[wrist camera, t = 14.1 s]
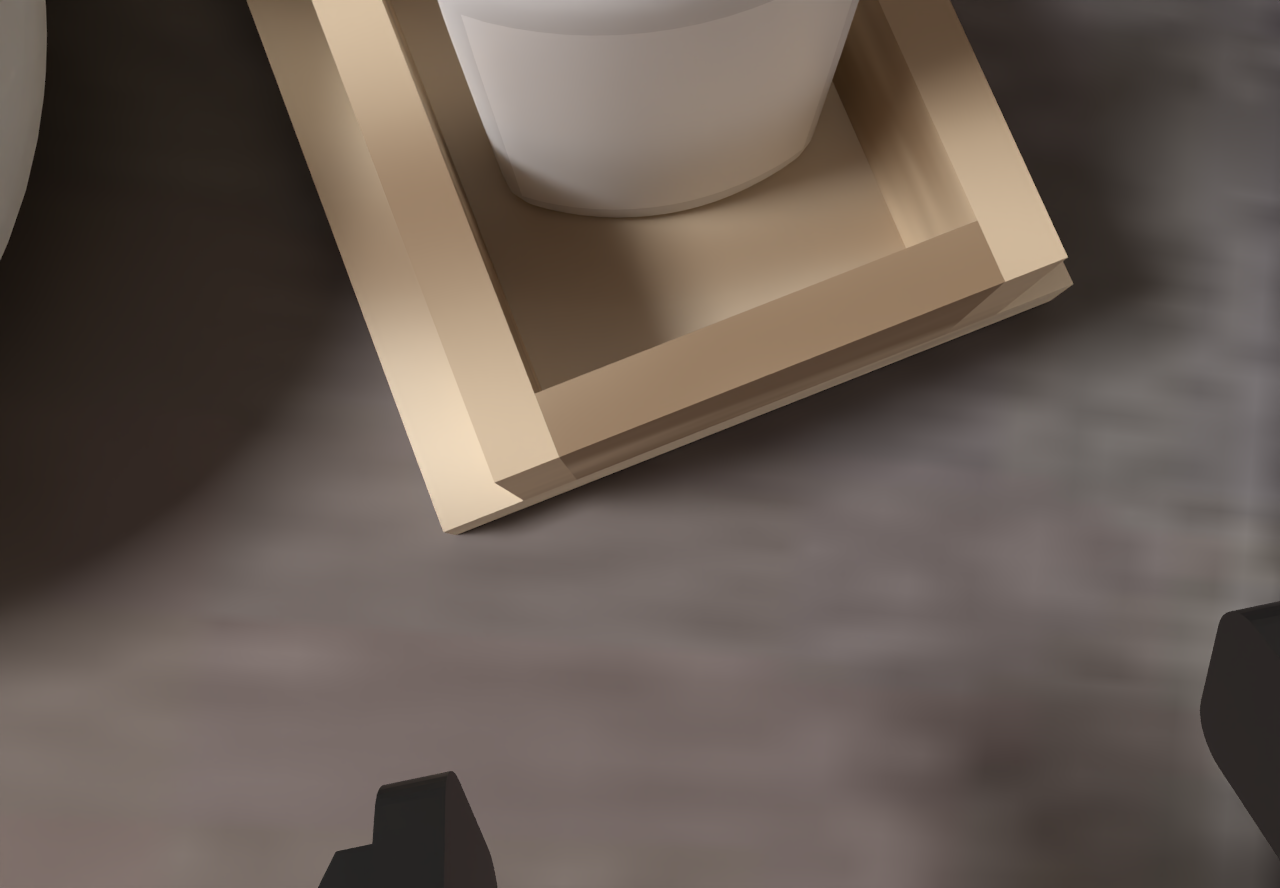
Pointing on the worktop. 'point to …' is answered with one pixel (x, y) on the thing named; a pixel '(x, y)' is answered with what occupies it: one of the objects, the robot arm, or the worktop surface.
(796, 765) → the worktop surface
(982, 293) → the divided storage tray
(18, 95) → the serving bowl
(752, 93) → the eye dropper bottle
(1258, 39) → the worktop surface
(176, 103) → the worktop surface
